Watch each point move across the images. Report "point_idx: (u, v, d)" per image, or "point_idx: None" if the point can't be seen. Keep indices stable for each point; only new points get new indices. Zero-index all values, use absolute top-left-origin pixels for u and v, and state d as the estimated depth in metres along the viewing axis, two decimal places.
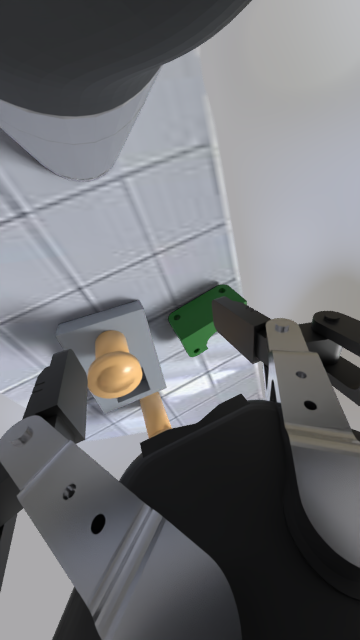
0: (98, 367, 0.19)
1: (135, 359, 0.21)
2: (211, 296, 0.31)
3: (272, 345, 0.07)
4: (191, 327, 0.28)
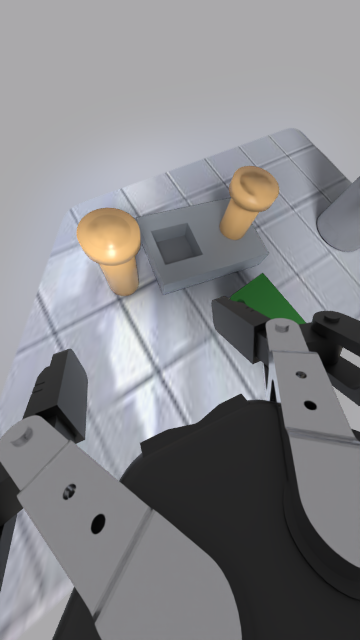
0: (268, 174, 0.23)
1: (271, 203, 0.23)
2: None
3: (272, 345, 0.07)
4: None
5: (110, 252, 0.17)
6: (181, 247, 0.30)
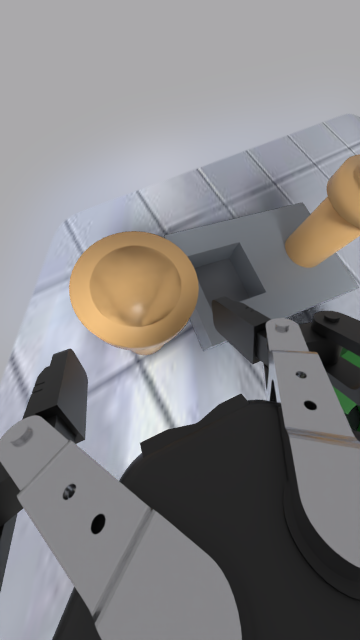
0: None
1: None
2: None
3: (272, 345, 0.07)
4: None
5: (141, 331, 0.08)
6: (226, 276, 0.21)
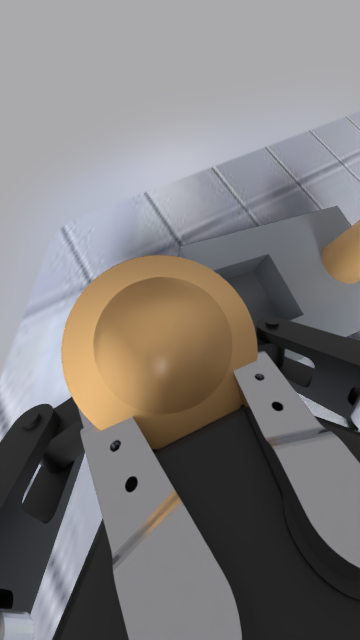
0: None
1: None
2: None
3: None
4: None
5: (177, 421, 0.05)
6: (251, 293, 0.18)
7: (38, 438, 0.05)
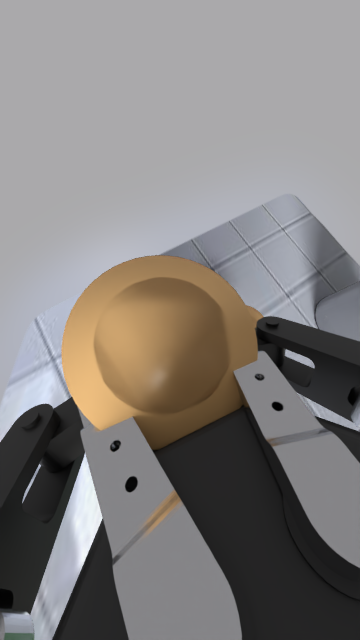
0: (258, 314, 0.20)
1: None
2: None
3: None
4: None
5: (177, 421, 0.05)
6: None
7: (38, 438, 0.05)
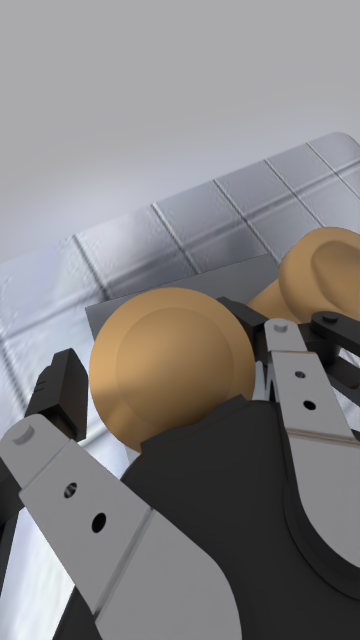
0: None
1: None
2: None
3: (271, 345, 0.07)
4: None
5: None
6: None
7: None
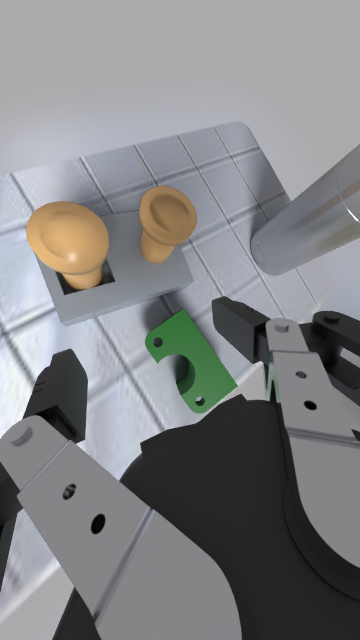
0: (187, 200, 0.20)
1: (187, 238, 0.20)
2: None
3: (272, 345, 0.07)
4: None
5: (72, 261, 0.15)
6: None
7: None
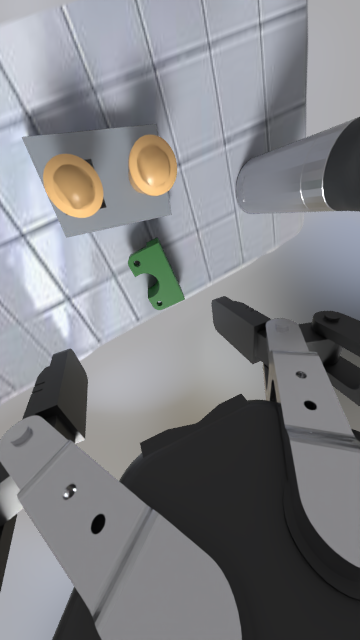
0: (171, 153, 0.23)
1: (166, 191, 0.25)
2: (175, 276, 0.38)
3: (272, 345, 0.07)
4: (164, 254, 0.33)
5: (78, 211, 0.21)
6: None
7: None
